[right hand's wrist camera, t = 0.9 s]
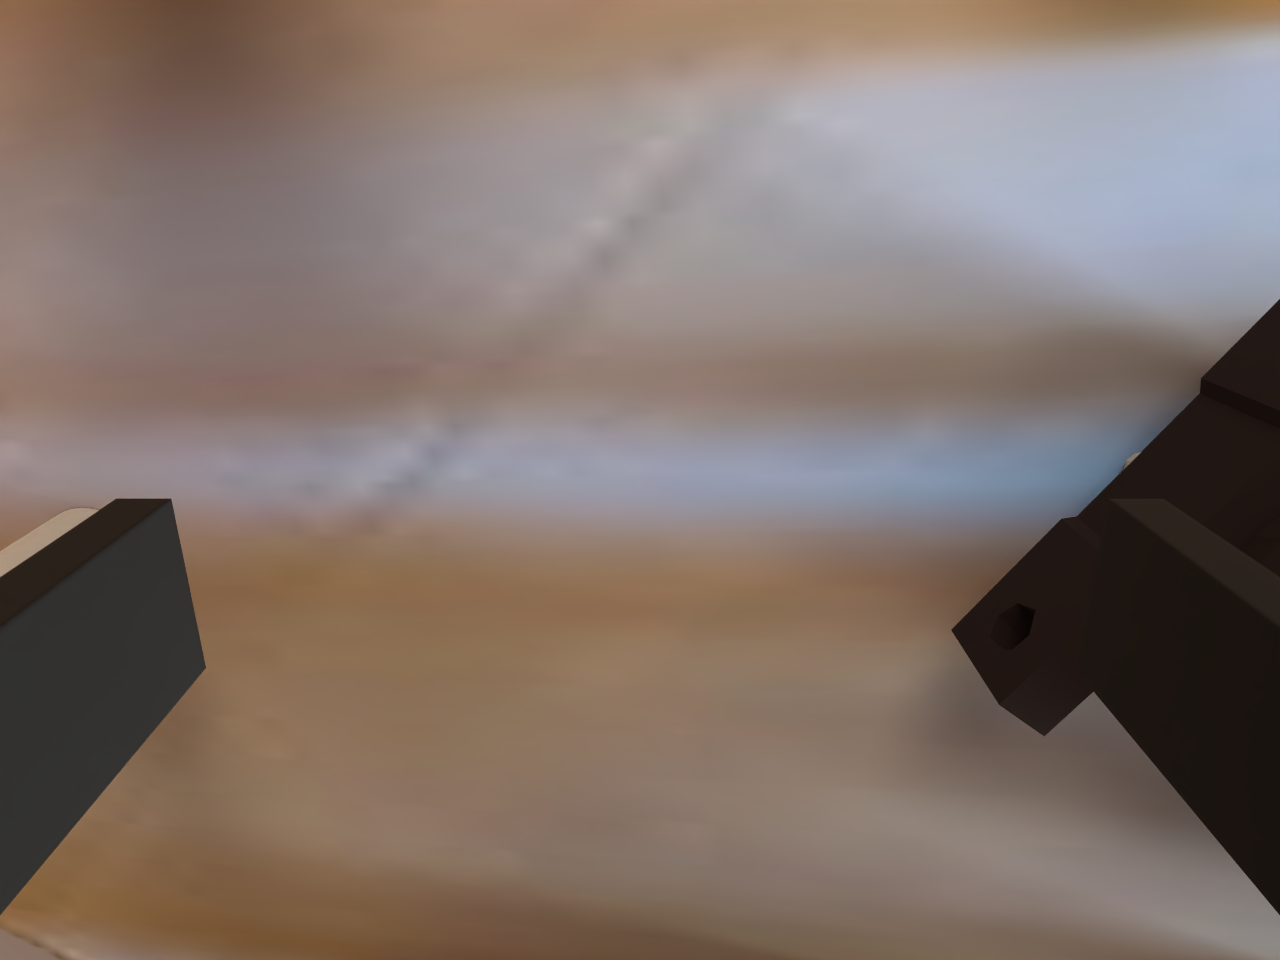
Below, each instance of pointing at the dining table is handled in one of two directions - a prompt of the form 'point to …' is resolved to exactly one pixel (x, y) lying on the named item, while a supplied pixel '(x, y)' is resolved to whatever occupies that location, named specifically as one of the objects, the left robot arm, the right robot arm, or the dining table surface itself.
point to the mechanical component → (1166, 469)
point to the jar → (41, 537)
